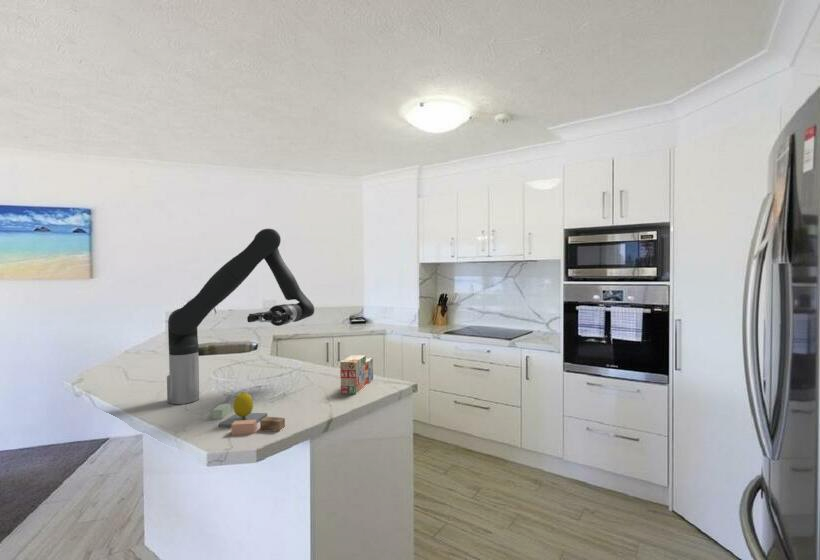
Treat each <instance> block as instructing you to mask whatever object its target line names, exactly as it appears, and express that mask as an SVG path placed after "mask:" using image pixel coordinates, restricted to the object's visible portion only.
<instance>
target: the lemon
mask: <svg viewBox="0 0 820 560" xmlns="http://www.w3.org/2000/svg"><path fill="white" fill-rule="evenodd" d="M253 409H254V400H253V398H252V396H251V394H249V393H246V392H245V391H242V392H240V393H239V394H237V396H235V398H234V402H233V411H234V414H236V415H238V416H240V417H242V418H245V417H246V416H247V415H249V414H250V413H252V412H253Z"/></svg>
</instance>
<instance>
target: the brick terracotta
mask: <svg viewBox="0 0 820 560" xmlns="http://www.w3.org/2000/svg"><path fill="white" fill-rule="evenodd" d="M230 428H231V435H232V436H234V435H248V434H249V435H250V434H251V433H253V434H255V433H256V431H257V430H258V423H257V420H241V421H234V422H233V424H232V425H231V427H230Z"/></svg>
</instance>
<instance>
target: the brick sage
mask: <svg viewBox="0 0 820 560" xmlns="http://www.w3.org/2000/svg"><path fill="white" fill-rule="evenodd" d="M211 410H212V420H222V419H224V418H225V417H226V416H227V415H229V414H230V413H231V403H220V404H219V405H218V406H216V407H215V408H213V409H211Z"/></svg>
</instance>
